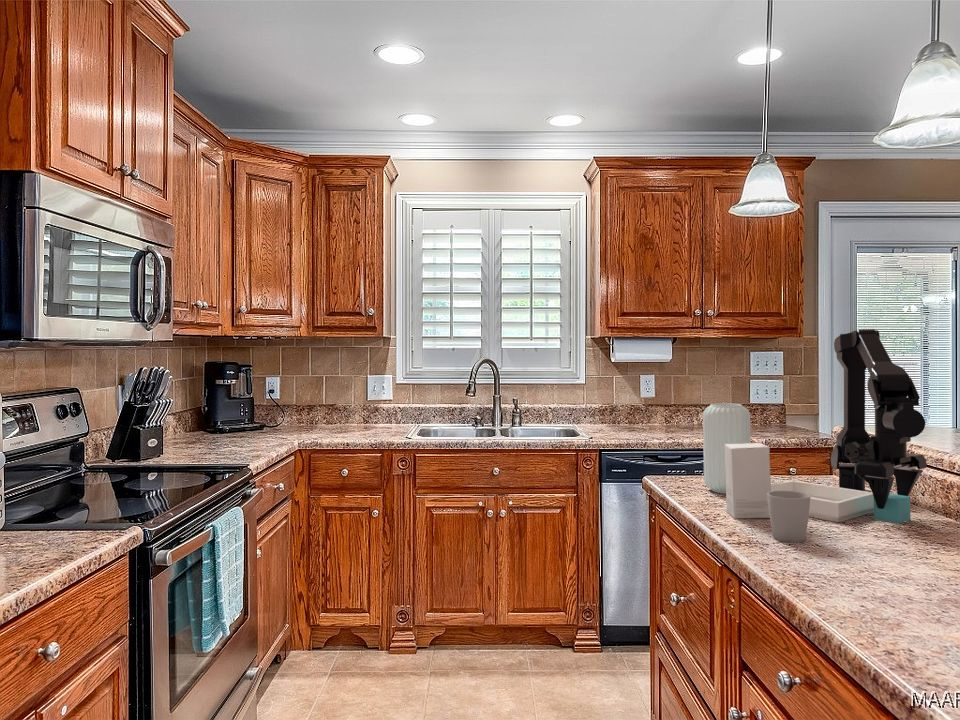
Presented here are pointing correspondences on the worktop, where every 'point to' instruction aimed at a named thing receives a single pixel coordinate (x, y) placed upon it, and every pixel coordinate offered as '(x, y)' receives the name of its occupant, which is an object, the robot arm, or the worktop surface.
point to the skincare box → (747, 480)
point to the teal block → (894, 509)
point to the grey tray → (831, 500)
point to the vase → (722, 439)
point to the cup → (789, 515)
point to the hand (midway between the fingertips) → (891, 505)
